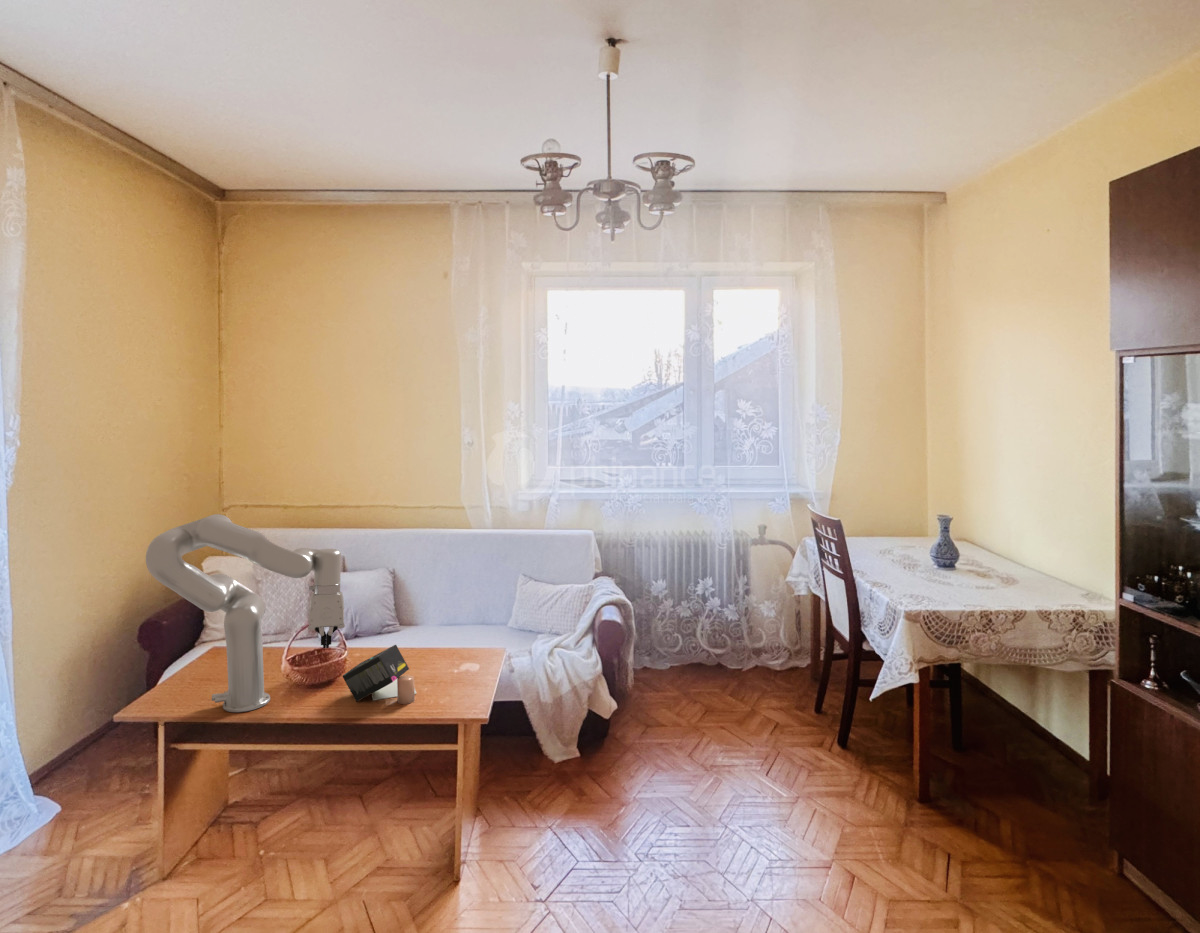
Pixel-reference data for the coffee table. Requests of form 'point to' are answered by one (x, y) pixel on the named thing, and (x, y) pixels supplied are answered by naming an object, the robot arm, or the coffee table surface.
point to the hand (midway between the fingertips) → (326, 646)
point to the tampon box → (375, 673)
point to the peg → (405, 689)
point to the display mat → (387, 691)
